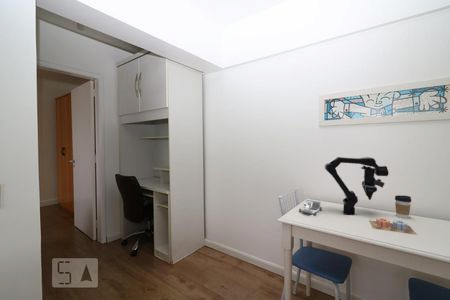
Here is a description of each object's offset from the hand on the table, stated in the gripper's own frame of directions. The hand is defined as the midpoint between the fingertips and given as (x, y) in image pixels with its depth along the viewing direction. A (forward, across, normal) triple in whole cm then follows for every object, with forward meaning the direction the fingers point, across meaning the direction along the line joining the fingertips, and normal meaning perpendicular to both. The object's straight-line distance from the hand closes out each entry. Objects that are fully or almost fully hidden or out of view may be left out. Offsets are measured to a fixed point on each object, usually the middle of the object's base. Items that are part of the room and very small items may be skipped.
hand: (368, 197), depth 145 cm
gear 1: (+10, -22, -4) cm, 25 cm away
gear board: (+12, -22, -8) cm, 26 cm away
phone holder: (+13, -9, +37) cm, 40 cm away
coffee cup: (+12, +1, -19) cm, 23 cm away
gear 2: (+10, -22, -12) cm, 27 cm away
